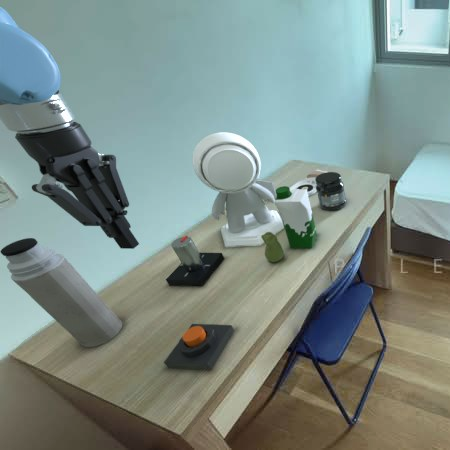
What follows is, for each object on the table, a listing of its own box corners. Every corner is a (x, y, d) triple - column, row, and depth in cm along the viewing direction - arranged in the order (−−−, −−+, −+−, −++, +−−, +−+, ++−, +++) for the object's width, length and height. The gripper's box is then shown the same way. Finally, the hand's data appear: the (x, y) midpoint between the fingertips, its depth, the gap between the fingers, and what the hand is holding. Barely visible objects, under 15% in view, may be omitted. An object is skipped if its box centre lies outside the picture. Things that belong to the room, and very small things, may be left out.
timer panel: (202, 286, 88) (198, 280, 86) (169, 285, 88) (165, 279, 87) (224, 258, 97) (221, 252, 96) (194, 258, 98) (191, 251, 97)
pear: (287, 260, 96) (279, 234, 90) (270, 267, 93) (261, 242, 87) (281, 251, 99) (273, 226, 94) (265, 258, 97) (255, 233, 91)
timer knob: (197, 271, 89) (183, 246, 84) (181, 271, 90) (166, 246, 84) (207, 259, 93) (194, 235, 88) (192, 259, 94) (178, 235, 88)
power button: (199, 347, 67) (195, 341, 66) (182, 346, 68) (178, 341, 67) (210, 331, 71) (206, 326, 70) (193, 331, 71) (189, 325, 70)
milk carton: (294, 234, 107) (279, 182, 95) (320, 233, 106) (308, 181, 95) (286, 250, 100) (269, 196, 88) (314, 249, 99) (300, 196, 88)
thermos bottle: (75, 340, 74) (-21, 251, 58) (111, 315, 80) (34, 229, 64) (92, 352, 71) (-3, 262, 55) (129, 326, 77) (52, 237, 61)
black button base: (211, 370, 67) (203, 359, 65) (168, 368, 68) (159, 357, 65) (234, 330, 75) (228, 320, 73) (195, 329, 76) (188, 318, 73)
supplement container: (330, 195, 128) (324, 169, 121) (351, 200, 124) (347, 173, 117) (314, 208, 120) (307, 180, 113) (336, 213, 116) (331, 185, 110)
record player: (333, 173, 139) (304, 193, 124) (334, 179, 140) (305, 200, 126) (313, 168, 143) (282, 188, 129) (314, 175, 145) (284, 194, 131)
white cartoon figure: (228, 256, 98) (178, 152, 78) (219, 223, 114) (176, 129, 94) (290, 235, 106) (260, 135, 86) (273, 206, 123) (244, 117, 102)
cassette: (254, 195, 131) (248, 179, 126) (257, 193, 132) (252, 177, 128) (276, 200, 127) (271, 183, 122) (279, 198, 128) (274, 181, 124)
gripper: (23, 141, 42) (121, 269, 55) (105, 114, 52) (170, 227, 66) (-27, 142, 42) (82, 268, 56) (64, 115, 53) (137, 226, 66)
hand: (130, 246), depth 61 cm, fingers closed
